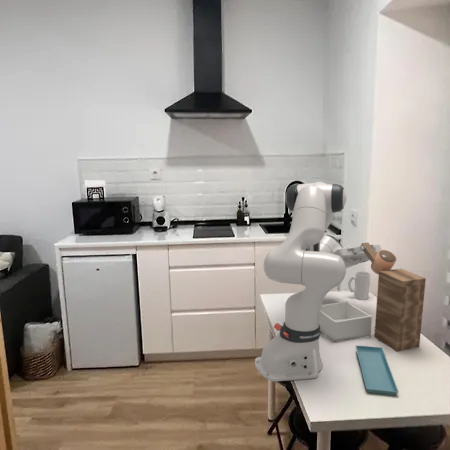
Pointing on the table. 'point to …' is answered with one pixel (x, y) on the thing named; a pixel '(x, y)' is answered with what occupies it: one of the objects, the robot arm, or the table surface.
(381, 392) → the teal serving tray
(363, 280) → the mug
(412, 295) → the wooden block
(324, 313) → the bin
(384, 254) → the pot
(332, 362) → the table surface
